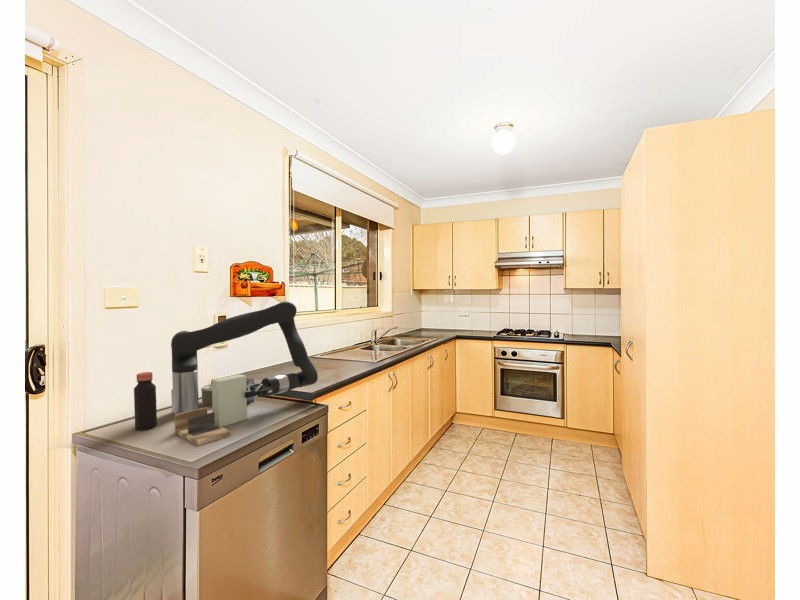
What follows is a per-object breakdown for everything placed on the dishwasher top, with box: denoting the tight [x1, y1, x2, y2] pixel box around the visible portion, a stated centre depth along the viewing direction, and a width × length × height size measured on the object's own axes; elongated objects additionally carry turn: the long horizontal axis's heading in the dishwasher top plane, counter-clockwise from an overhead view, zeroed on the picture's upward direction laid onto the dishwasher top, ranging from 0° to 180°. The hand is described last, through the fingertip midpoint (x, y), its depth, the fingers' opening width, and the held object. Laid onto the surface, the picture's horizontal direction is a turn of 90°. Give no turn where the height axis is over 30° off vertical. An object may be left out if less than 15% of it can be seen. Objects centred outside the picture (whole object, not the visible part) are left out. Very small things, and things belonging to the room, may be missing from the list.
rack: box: [174, 406, 232, 446], centre depth 139 cm, size 18×11×6 cm, turn 51°
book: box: [211, 373, 248, 427], centre depth 151 cm, size 5×11×17 cm, turn 141°
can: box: [200, 384, 212, 407], centre depth 176 cm, size 12×12×7 cm
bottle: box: [133, 371, 158, 431], centre depth 145 cm, size 7×7×20 cm
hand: (239, 393), depth 154 cm, fingers open, 8 cm apart
